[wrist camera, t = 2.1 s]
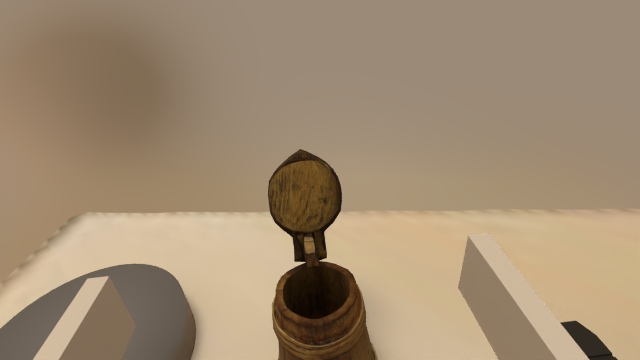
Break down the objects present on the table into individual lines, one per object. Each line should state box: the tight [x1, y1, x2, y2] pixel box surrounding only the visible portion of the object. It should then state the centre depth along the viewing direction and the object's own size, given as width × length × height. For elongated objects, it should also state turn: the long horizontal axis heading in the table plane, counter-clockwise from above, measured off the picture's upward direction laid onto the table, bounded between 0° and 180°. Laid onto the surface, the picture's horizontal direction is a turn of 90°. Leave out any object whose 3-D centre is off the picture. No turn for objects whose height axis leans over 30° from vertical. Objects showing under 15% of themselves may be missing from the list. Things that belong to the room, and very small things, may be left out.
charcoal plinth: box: [0, 264, 196, 360], centre depth 32 cm, size 18×18×4 cm
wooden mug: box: [268, 149, 378, 360], centre depth 27 cm, size 9×14×18 cm, turn 5°
